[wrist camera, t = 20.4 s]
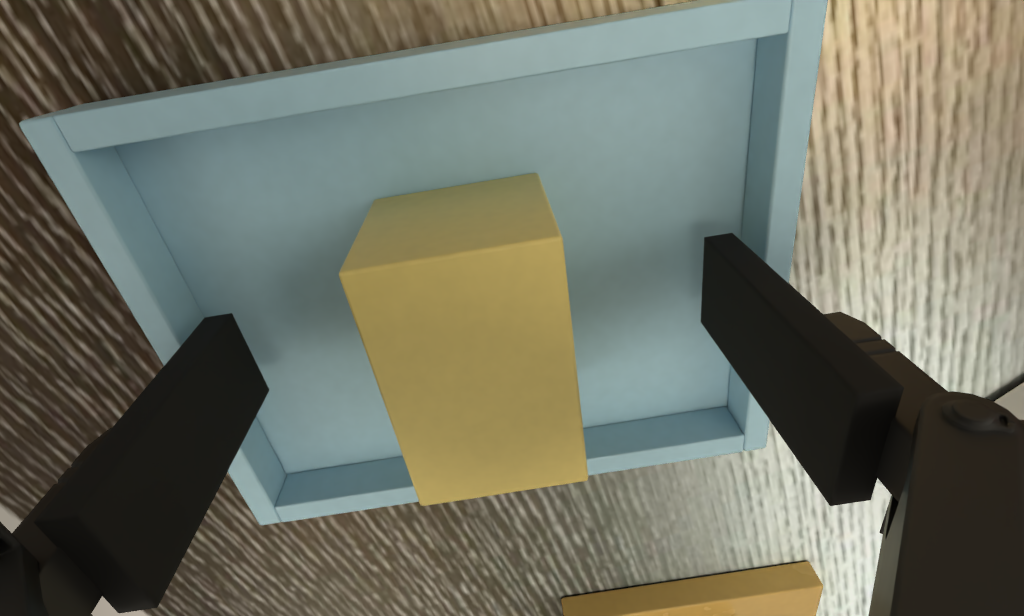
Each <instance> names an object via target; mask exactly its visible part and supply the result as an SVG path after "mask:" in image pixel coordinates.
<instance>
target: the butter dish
mask: <svg viewBox="0 0 1024 616" xmlns="http://www.w3.org/2000/svg"><path fill="white" fill-rule="evenodd" d="M827 2H828V0H696V1H690V2H684V3H678V4H672V5H666V6H660V7H654V8H649V9H643V10H637V11H631V12H625V13H619V14H613V15H607V16H601V17H595V18H589V19H583V20H577V21H571V22H566V23H560V24H554V25H548V26H542V27H536V28H530V29H524V30H518V31H512V32H506V33H500V34H494V35H489V36H483V37H477V38H471V39H465V40H459V41H453V42H447V43H441V44H435V45H429V46H423V47H417V48H412V49H406V50H400V51H394V52H388V53H382V54H376V55H370V56H364V57H358V58H352V59H346V60H340V61H335V62H329V63H323V64H317V65H311V66H305V67H299V68H293V69H287V70H281V71H275V72H269V73H263V74H258V75H252V76H246V77H240V78H234V79H228V80H222V81H216V82H210V83H204V84H198V85H192V86H186V87H181V88H175V89H169V90H163V91H157V92H151V93H145V94H139V95H133V96H127V97H121V98H115V99H109V100H104V101H98V102H92V103H86V104H81V105H78V106H74V107H70V108H67V109H63V110H59V111H56V112H52V113H48V114H45V115H41V116H37V117H34V118H30V119H26V120H23V121H21V122H20V123H19V126H20V128H21V129H22V131H23V133H24V134H25V136H26V138H27V139H28V141H29V143H30V144H31V146H32V148H33V149H34V151H35V153H36V154H37V156H38V158H39V159H40V161H41V163H42V164H43V166H44V168H45V169H46V171H47V173H48V174H49V176H50V178H51V179H52V181H53V182H54V184H55V186H56V187H57V189H58V191H59V192H60V194H61V196H62V197H63V199H64V201H65V202H66V204H67V206H68V207H69V209H70V211H71V212H72V214H73V216H74V217H75V219H76V221H77V222H78V224H79V226H80V227H81V229H82V231H83V232H84V234H85V236H86V237H87V239H88V241H89V242H90V244H91V246H92V247H93V249H94V251H95V252H96V254H97V256H98V257H99V259H100V260H101V262H102V264H103V265H104V267H105V269H106V270H107V272H108V274H109V275H110V277H111V279H112V280H113V282H114V284H115V285H116V287H117V289H118V290H119V292H120V294H121V295H122V297H123V299H124V300H125V302H126V304H127V305H128V307H129V309H130V310H131V312H132V314H133V315H134V317H135V319H136V320H137V322H138V324H139V325H140V327H141V329H142V330H143V332H144V333H145V335H146V337H147V338H148V340H149V342H150V343H151V345H152V347H153V348H154V350H155V352H156V353H157V355H158V357H159V358H160V360H161V362H162V363H163V365H164V366H165V364H166V363H167V362H168V361H169V360H170V358H171V357H172V356H173V355H174V354H175V353H176V351H177V350H178V349H179V348H180V347H181V345H182V344H183V343H184V342H185V341H186V339H187V338H188V337H189V336H190V335H191V333H192V332H193V331H194V330H195V329H196V327H197V326H198V325H199V324H200V323H201V321H202V320H203V319H204V318H205V317H211V316H217V315H223V314H229V313H232V314H233V316H234V318H235V320H236V322H237V324H238V326H239V328H240V331H241V333H242V335H243V337H244V339H245V341H246V343H247V345H248V347H249V349H250V351H251V353H252V355H253V357H254V359H255V361H256V363H257V365H258V367H259V369H260V371H261V373H262V375H263V378H264V380H265V382H266V384H267V386H268V388H269V392H268V394H267V396H266V398H265V400H264V402H263V404H262V406H261V408H260V410H259V412H258V413H257V415H256V417H255V419H254V421H253V423H252V425H251V427H250V429H249V431H248V433H247V435H246V437H245V439H244V441H243V442H242V444H241V446H240V448H239V450H238V452H237V454H236V456H235V458H234V460H233V462H232V464H231V466H230V468H229V470H228V473H229V475H230V476H231V478H232V480H233V481H234V483H235V485H236V486H237V488H238V489H239V491H240V493H241V494H242V496H243V498H244V499H245V501H246V503H247V504H248V506H249V508H250V509H251V511H252V513H253V514H254V516H255V518H256V519H257V521H258V523H259V524H260V525H266V524H273V523H279V522H281V521H282V522H288V521H294V520H301V519H307V518H314V517H320V516H327V515H334V514H340V513H347V512H353V511H360V510H366V509H373V508H379V507H386V506H392V505H399V504H405V503H412V502H418V501H419V500H418V497H417V494H416V491H415V489H414V486H413V483H412V480H411V477H410V474H409V472H408V469H407V466H406V463H405V460H404V458H403V455H402V452H401V449H400V446H399V444H398V441H397V438H396V435H395V432H394V430H393V427H392V424H391V421H390V418H389V415H388V413H387V410H386V407H385V404H384V401H383V399H382V396H381V393H380V390H379V387H378V385H377V382H376V379H375V376H374V373H373V370H372V368H371V365H370V362H369V359H368V356H367V354H366V351H365V348H364V345H363V342H362V340H361V337H360V334H359V331H358V328H357V326H356V323H355V320H354V317H353V314H352V311H351V309H350V306H349V303H348V300H347V297H346V295H345V292H344V289H343V286H342V283H341V281H340V278H339V271H340V269H341V267H342V265H343V263H344V261H345V259H346V257H347V255H348V253H349V251H350V249H351V247H352V245H353V243H354V241H355V239H356V237H357V234H358V232H359V230H360V228H361V226H362V224H363V222H364V220H365V218H366V216H367V214H368V212H369V210H370V208H371V206H372V204H373V202H374V200H376V199H381V198H387V197H393V196H399V195H405V194H411V193H417V192H423V191H429V190H435V189H441V188H447V187H453V186H459V185H465V184H471V183H477V182H483V181H489V180H495V179H501V178H507V177H513V176H519V175H525V174H531V173H538V175H539V177H540V180H541V182H542V185H543V188H544V190H545V193H546V196H547V198H548V201H549V204H550V206H551V209H552V212H553V214H554V217H555V219H556V222H557V225H558V227H559V230H560V233H561V235H562V238H563V245H564V255H565V264H566V273H567V283H568V292H569V301H570V311H571V320H572V329H573V339H574V348H575V357H576V367H577V376H578V385H579V395H580V404H581V413H582V423H583V432H584V441H585V451H586V460H587V469H588V475H595V474H601V473H608V472H614V471H621V470H627V469H634V468H640V467H647V466H653V465H660V464H666V463H673V462H679V461H686V460H692V459H699V458H706V457H712V456H719V455H725V454H732V453H738V452H742V451H743V450H744V451H749V450H756V449H762V448H765V447H766V443H767V435H768V428H769V421H770V420H769V418H768V417H767V415H766V414H765V413H764V411H763V410H762V408H761V407H760V406H759V404H758V403H757V401H756V400H755V398H754V397H753V396H752V394H751V393H750V391H749V390H748V389H747V387H746V386H745V384H744V383H743V381H742V380H741V379H740V377H739V376H738V374H737V373H736V372H735V370H734V369H733V367H732V366H731V364H730V363H729V362H728V360H727V359H726V357H725V356H724V354H723V353H722V352H721V350H720V349H719V347H718V346H717V345H716V343H715V342H714V340H713V339H712V337H711V336H710V335H709V333H708V332H707V330H706V329H705V328H704V326H703V325H702V323H701V301H702V278H703V255H704V237H709V236H715V235H721V234H727V233H733V234H734V235H735V236H737V237H738V238H739V239H740V240H741V241H742V242H743V243H744V244H745V245H747V246H748V247H749V248H750V249H751V250H752V251H753V252H754V253H755V254H757V255H758V256H759V257H760V258H761V259H762V260H763V261H764V262H765V263H767V264H768V265H769V266H770V267H771V268H772V269H773V270H774V271H775V272H777V273H778V274H779V275H780V276H781V277H782V278H783V279H784V280H785V281H786V282H788V283H789V276H790V269H791V262H792V255H793V247H794V240H795V233H796V226H797V218H798V211H799V204H800V197H801V190H802V182H803V175H804V168H805V161H806V153H807V146H808V139H809V132H810V124H811V117H812V110H813V103H814V96H815V88H816V81H817V74H818V67H819V59H820V52H821V45H822V38H823V30H824V23H825V16H826V9H827Z"/></svg>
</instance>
